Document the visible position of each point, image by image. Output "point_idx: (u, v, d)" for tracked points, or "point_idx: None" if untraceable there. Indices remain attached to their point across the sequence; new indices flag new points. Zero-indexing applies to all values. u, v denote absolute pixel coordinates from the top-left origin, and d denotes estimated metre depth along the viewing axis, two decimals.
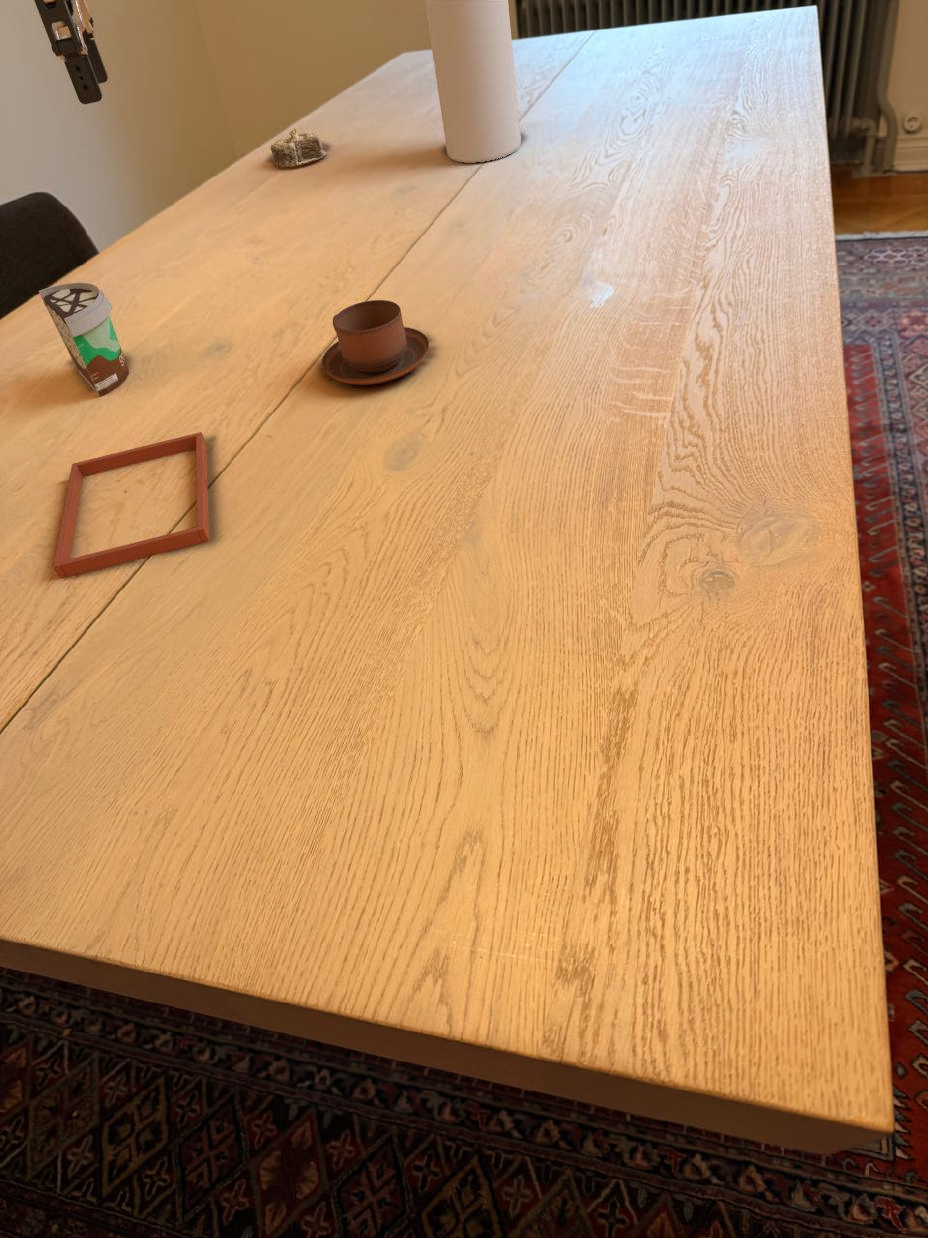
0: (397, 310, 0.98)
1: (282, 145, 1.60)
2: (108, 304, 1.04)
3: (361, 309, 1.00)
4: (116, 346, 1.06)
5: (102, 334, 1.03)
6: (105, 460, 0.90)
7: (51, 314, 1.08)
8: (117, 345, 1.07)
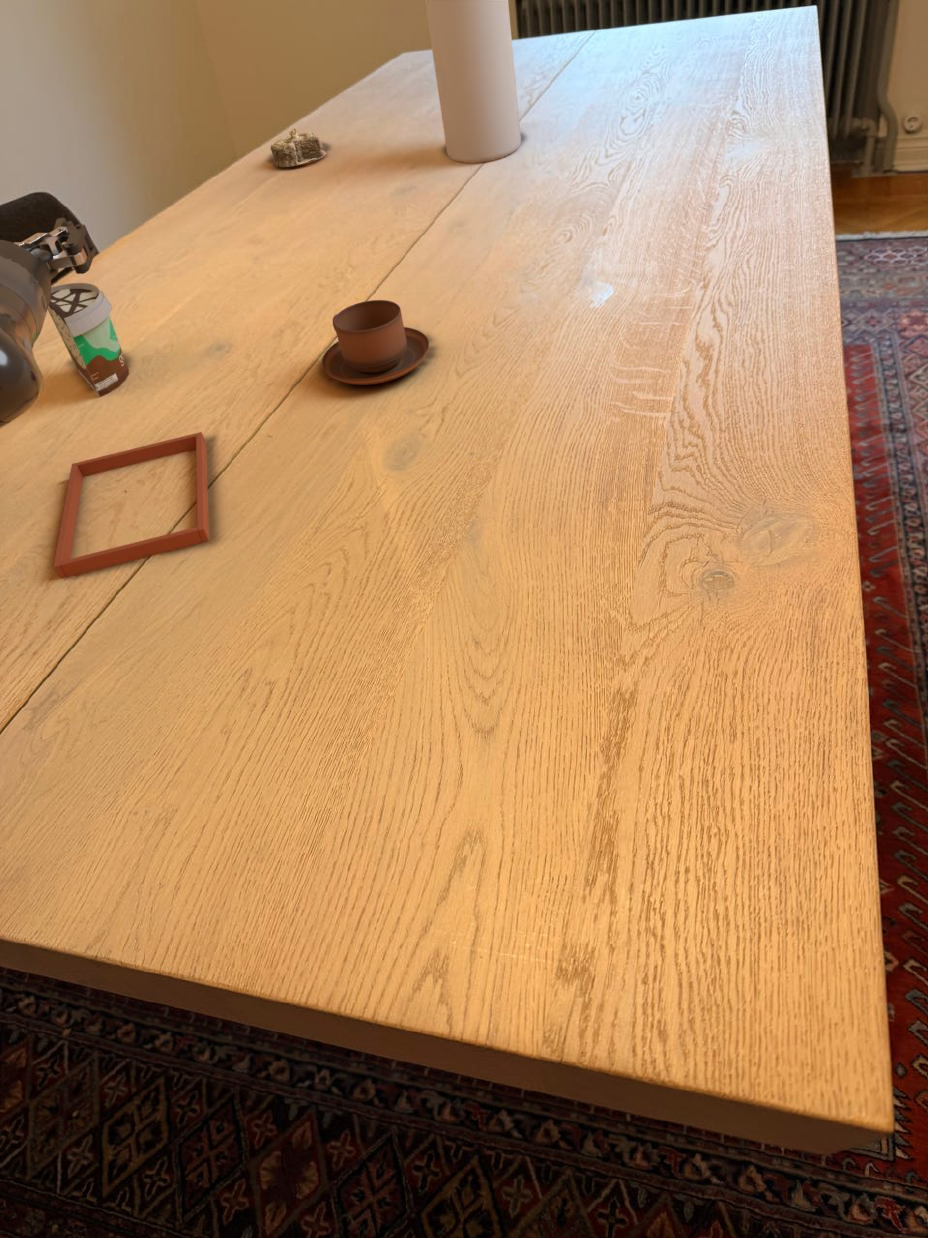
0: (397, 310, 0.98)
1: (282, 145, 1.60)
2: (108, 304, 1.04)
3: (360, 309, 1.00)
4: (116, 346, 1.06)
5: (102, 334, 1.03)
6: (105, 460, 0.90)
7: (51, 314, 1.08)
8: (117, 345, 1.07)
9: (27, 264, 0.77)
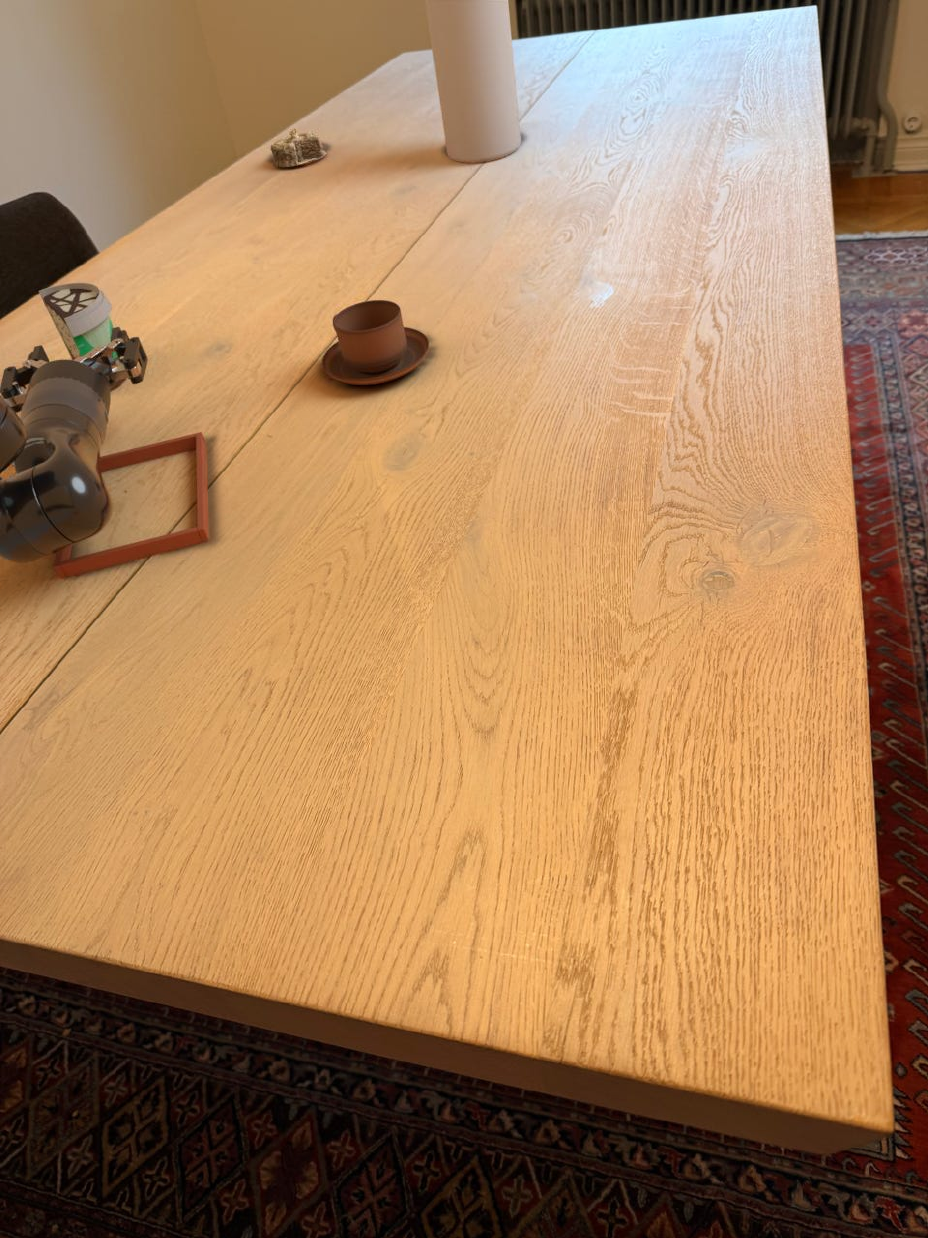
0: (397, 310, 0.98)
1: (282, 145, 1.60)
2: (108, 304, 1.04)
3: (360, 309, 1.00)
4: None
5: (102, 334, 1.03)
6: (105, 460, 0.90)
7: (51, 314, 1.08)
8: None
9: (92, 382, 0.87)
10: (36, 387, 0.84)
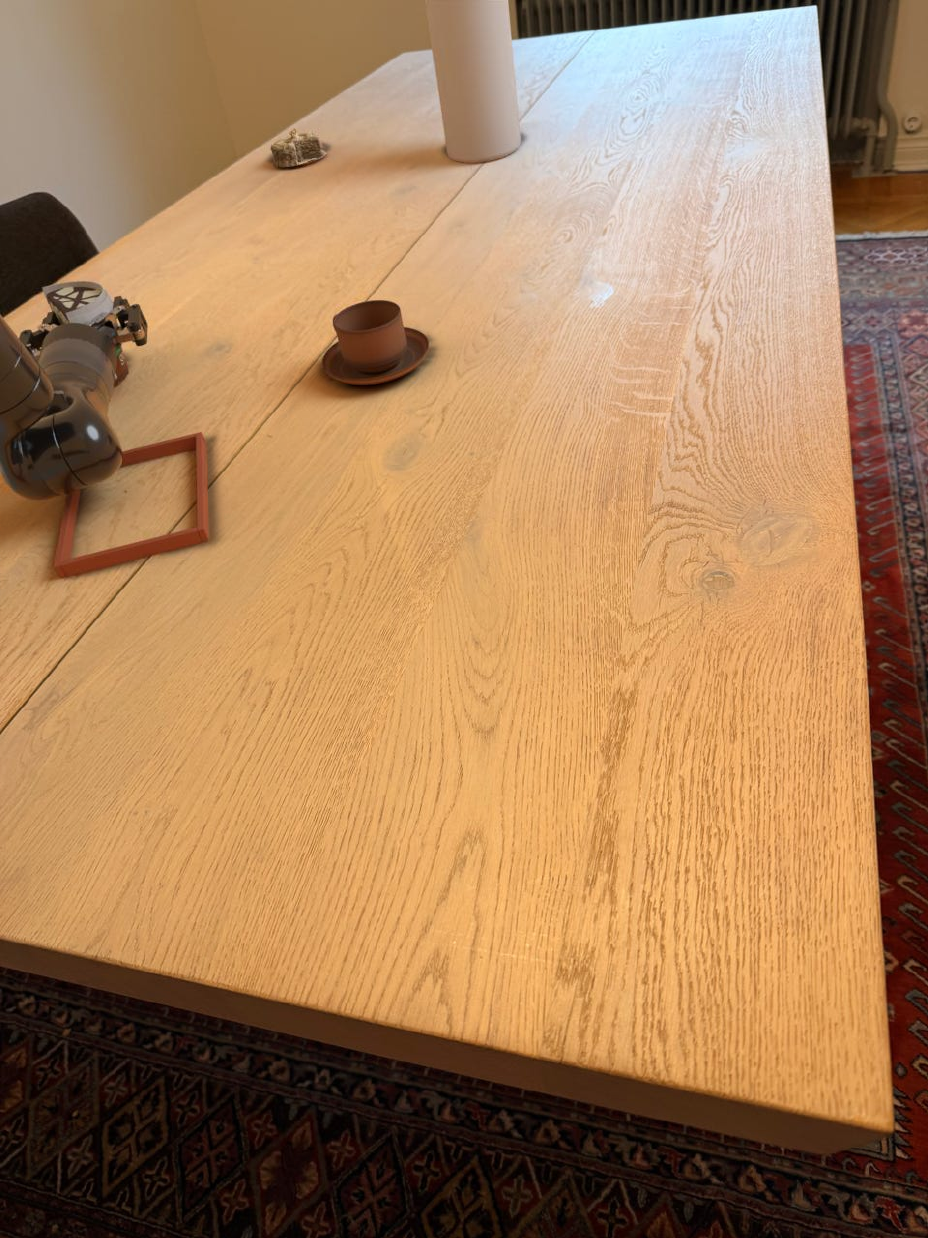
0: (397, 310, 0.98)
1: (282, 145, 1.60)
2: (111, 302, 1.04)
3: (360, 309, 1.00)
4: None
5: None
6: None
7: None
8: None
9: (100, 344, 0.95)
10: (49, 347, 0.92)
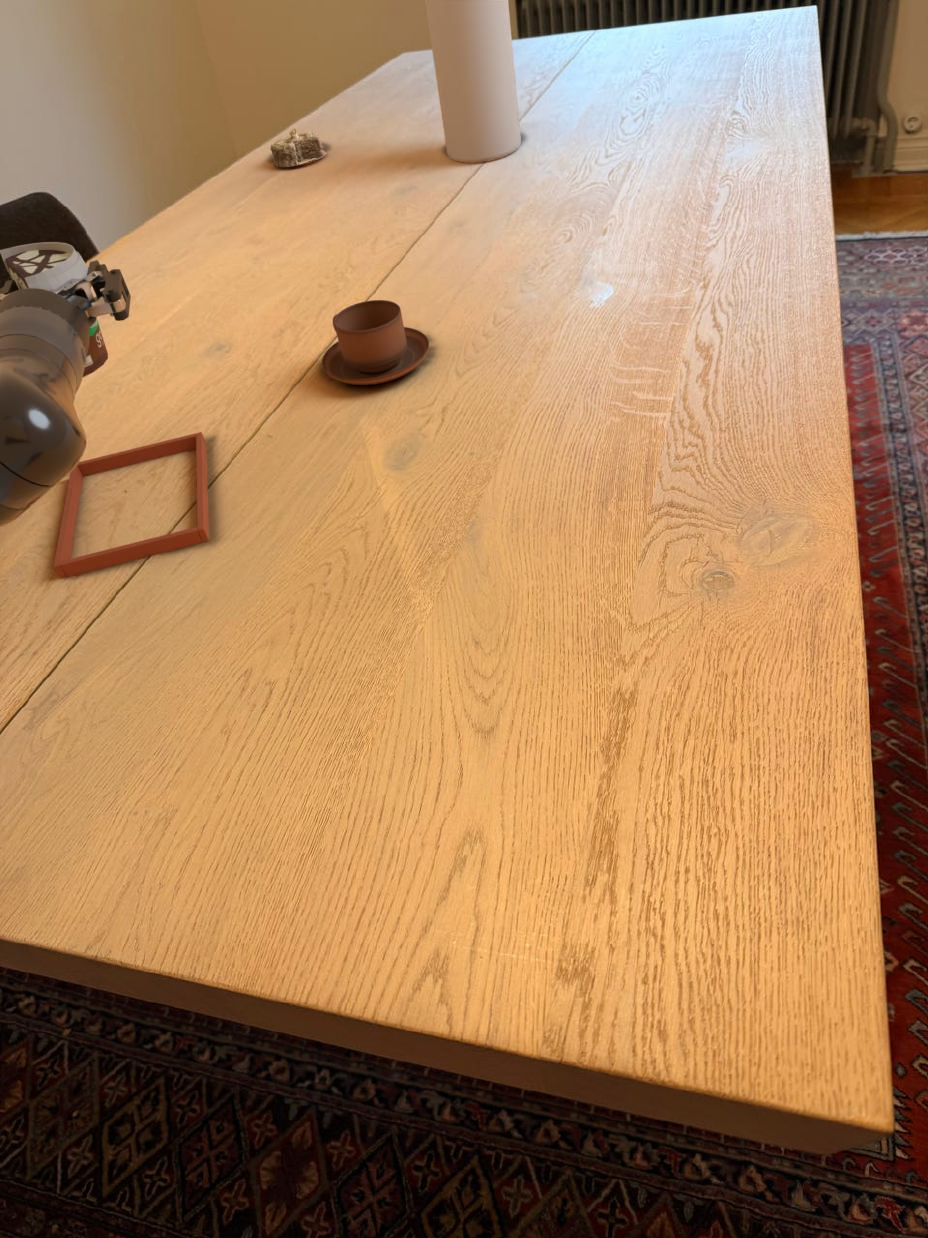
0: (397, 310, 0.98)
1: (282, 145, 1.60)
2: (84, 267, 0.82)
3: (360, 309, 1.00)
4: None
5: None
6: (105, 460, 0.90)
7: None
8: None
9: (66, 315, 0.73)
10: None
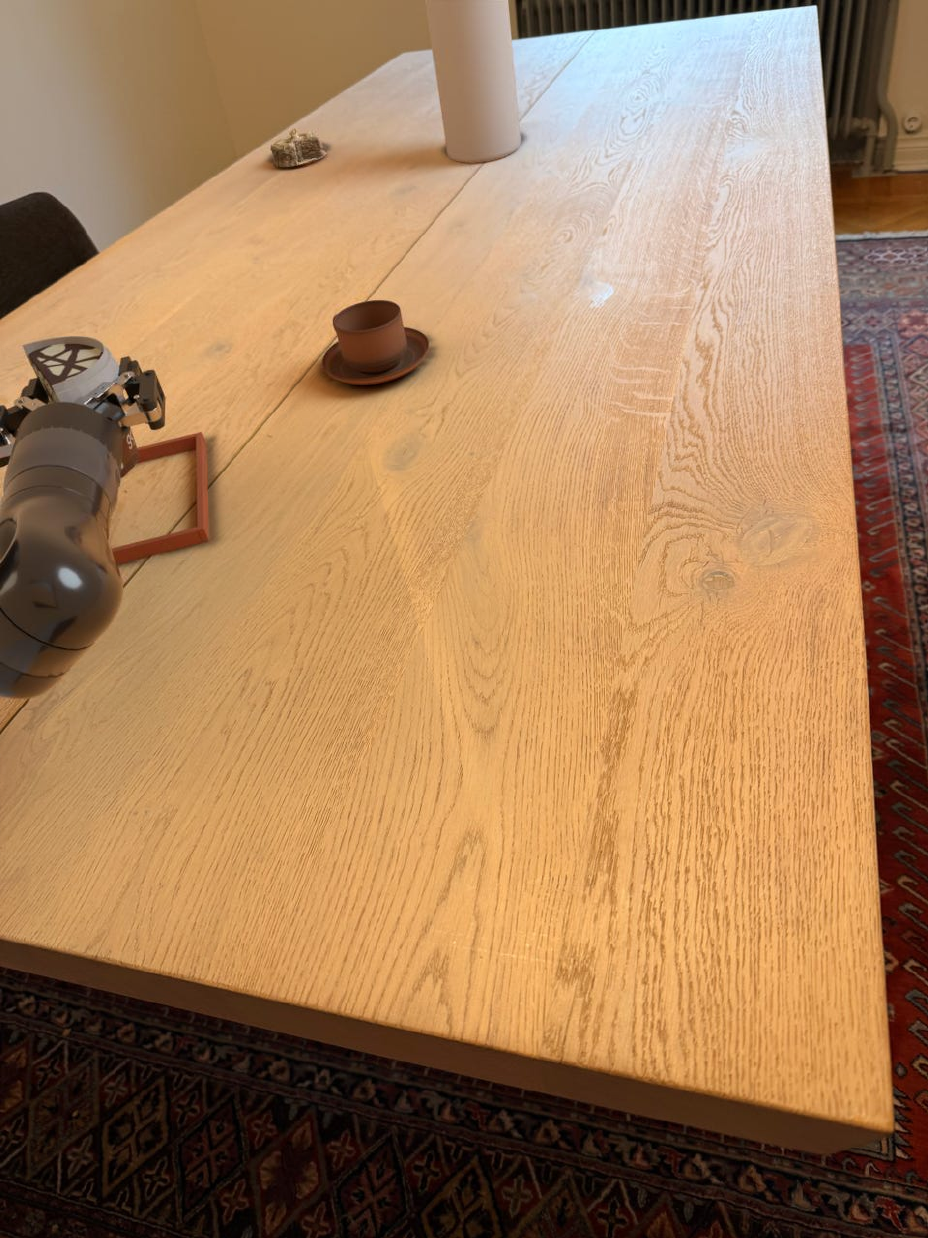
0: (397, 310, 0.98)
1: (282, 145, 1.60)
2: (115, 367, 0.76)
3: (360, 309, 1.00)
4: None
5: None
6: None
7: (38, 376, 0.80)
8: None
9: (99, 433, 0.67)
10: (25, 440, 0.64)
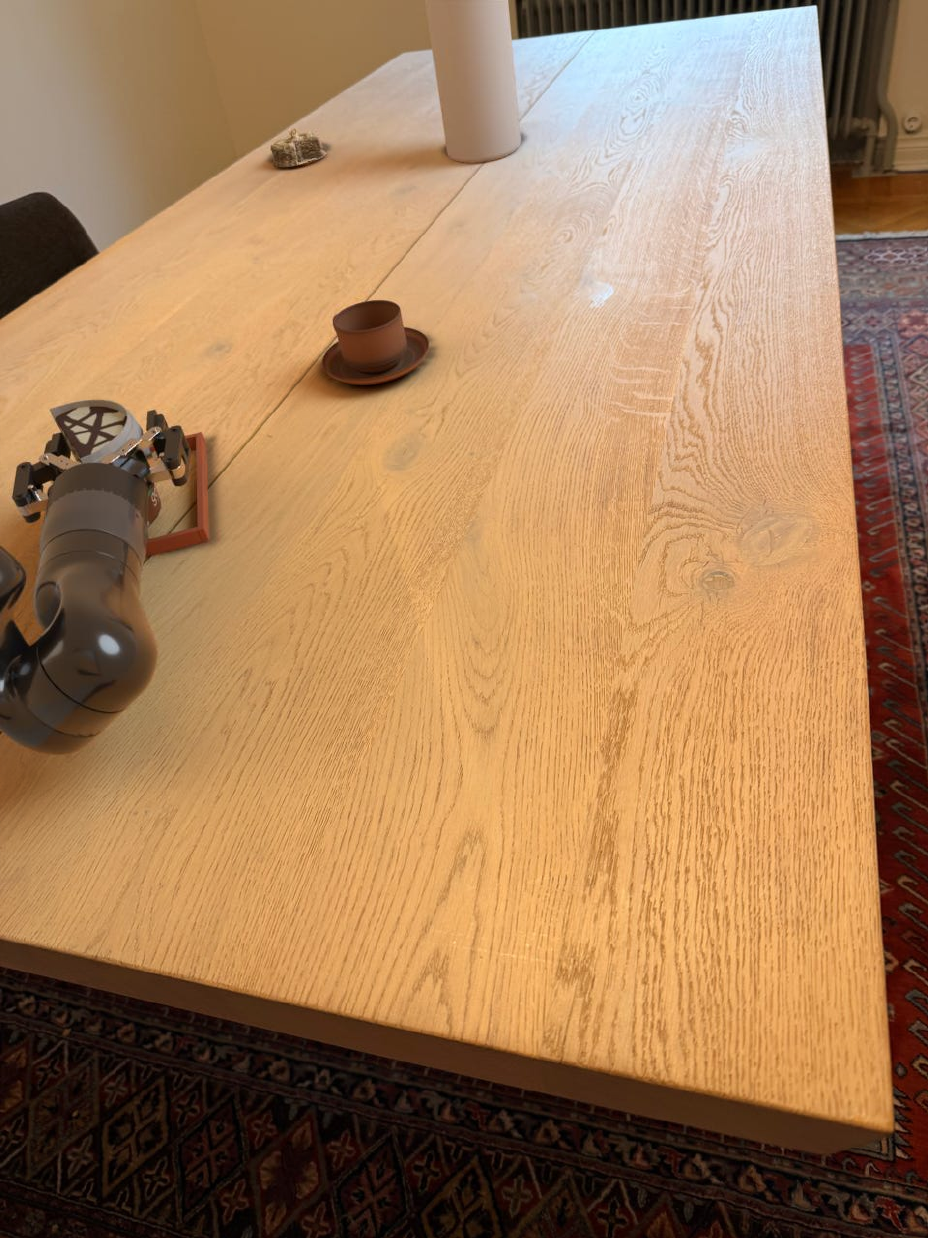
0: (397, 310, 0.98)
1: (282, 145, 1.60)
2: (139, 432, 0.79)
3: (360, 309, 1.00)
4: None
5: None
6: None
7: (65, 437, 0.84)
8: None
9: (128, 492, 0.70)
10: (60, 503, 0.67)
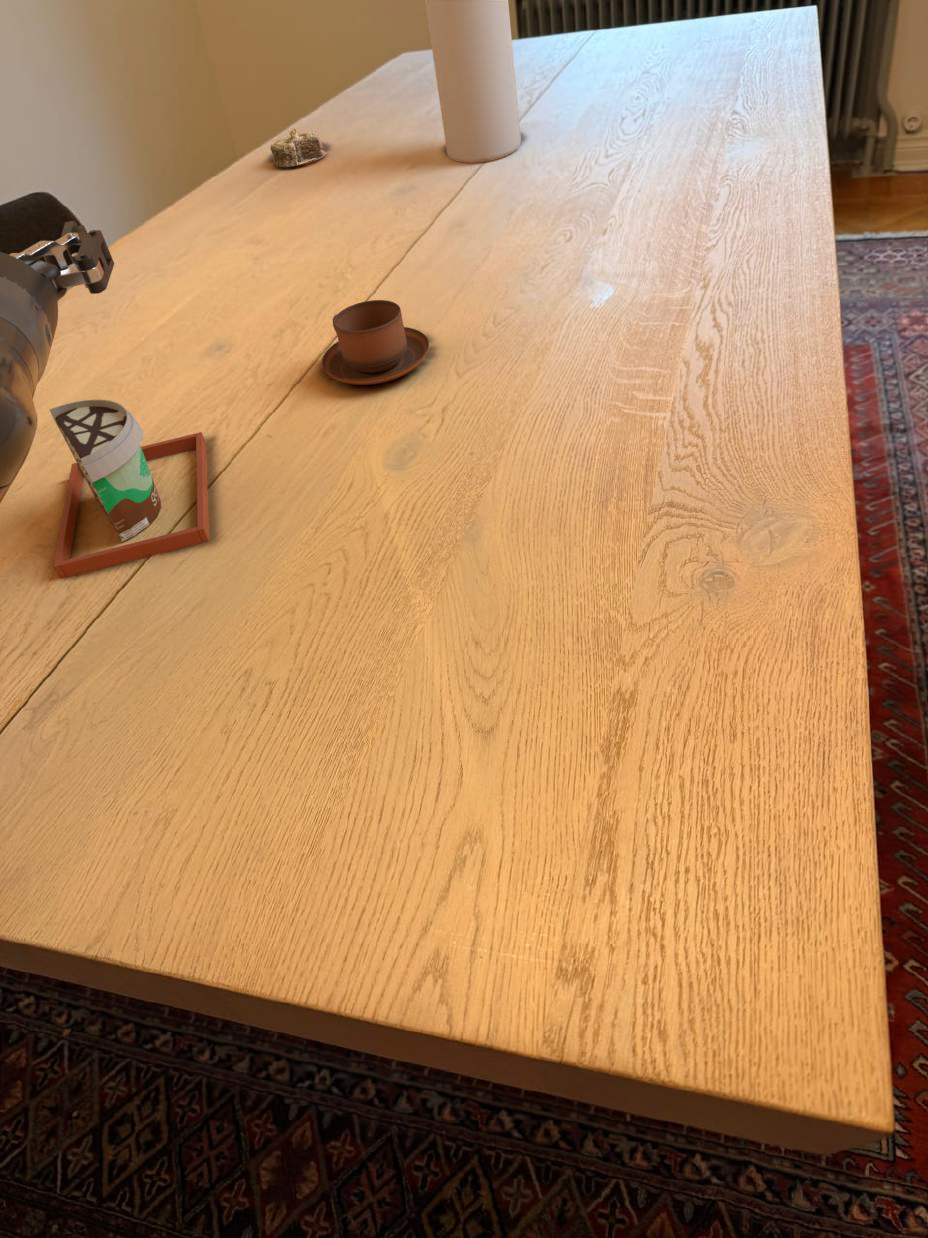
0: (397, 310, 0.98)
1: (282, 145, 1.60)
2: (138, 432, 0.79)
3: (360, 309, 1.00)
4: (148, 482, 0.82)
5: (130, 473, 0.79)
6: None
7: (65, 437, 0.84)
8: (149, 481, 0.82)
9: (27, 283, 0.59)
10: None
